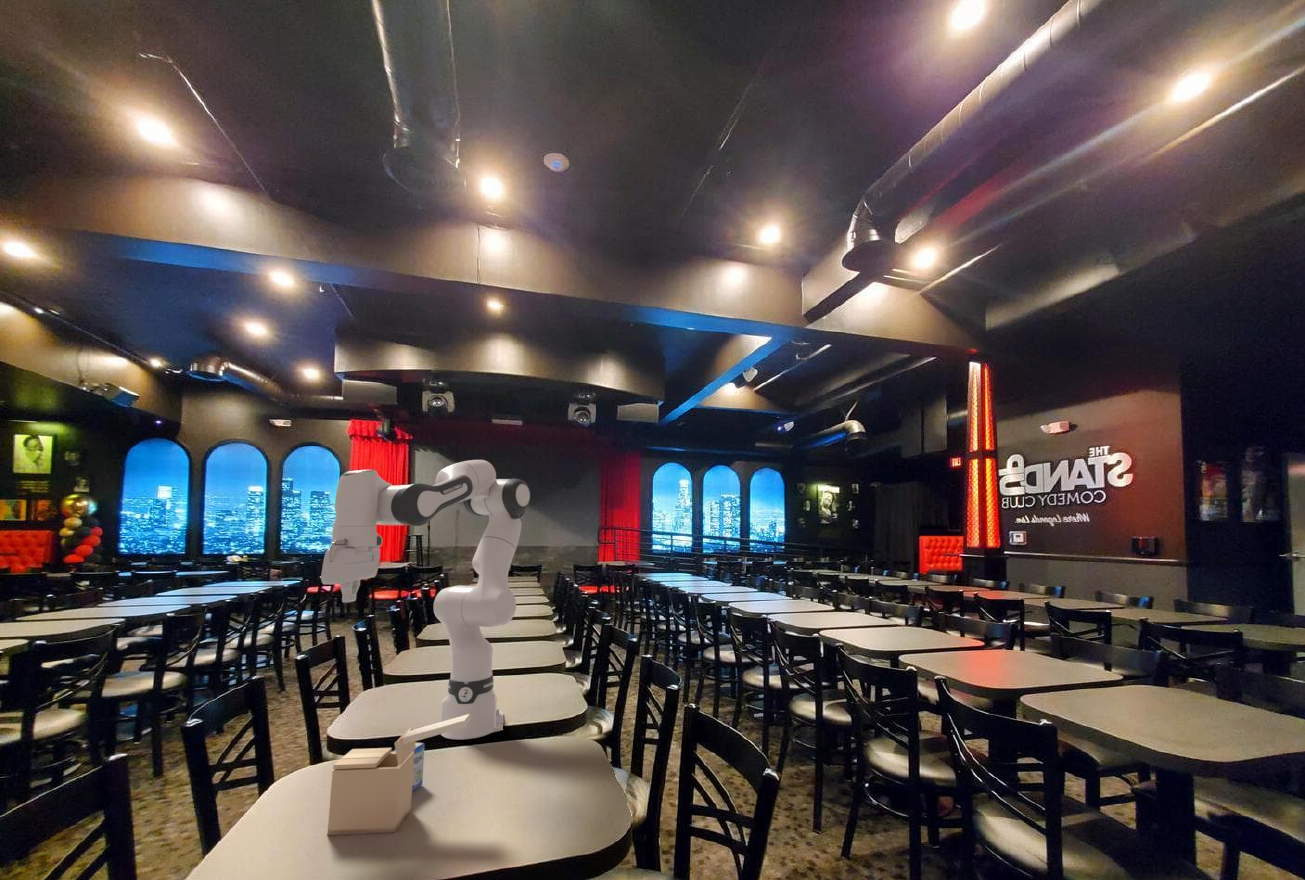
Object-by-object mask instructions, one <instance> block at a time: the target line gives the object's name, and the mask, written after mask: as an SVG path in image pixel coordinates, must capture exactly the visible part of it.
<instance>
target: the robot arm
mask: <svg viewBox="0 0 1305 880" xmlns="http://www.w3.org/2000/svg"><path fill="white" fill-rule="evenodd" d="M336 486H337V488H336V493H335V499H334V510H335V519H334V521H333V525H332V532H331V534H332V535H331V545H330V546H329V548H328V549H326V551H325V554H324V557H323V562H322V569H321V574H320V580H321V583H322V585H339V588H340V591H341V595H342V596H341V602H342V603H345V604H346V603H351V602H355V601H356V600H357V593H358V591H359V589H360V586H361V580H367V579H371V578H375V577H376V576H377V574H378V570H379V564H380V555H381V554H380V553H381V549H380V547H382V546H383V537H382V536H381V535H380V534H379V533H378V532H377V525H378V526H379V525H380V526H411V527H412V526H413V527H421V526H423V525H426V524H427V523H429V522H430V521H431V520H432V519H433V518H434V517H435V516H437V514H438V513H439V512H441V511H442V510H443V509H446V508H448V507H450V506H452V505H454V504H456V503H461V502H463V505H464V507H465V509H466V511H467V512H468V513H469V514H471V515H474V516H479V517H480V516H481V517H482V516H488V524H487V527H486V528H485V529H484V531H483V534H482V535H481V538H480V541H479V543H478V546H477V548H476V551H475V553H474V555H473V558H472V561H471V563H472V568H473V570H474V571H475V572H476V574H478V580H477V584H476V585H454V586H448V587H445V588H442V589H441V590H440V591H439V592H438V593H437V594H436V596H435V597H434V598H435V599H434V601H433V613H434V615H435V618H436V619H438V621H439V622H440V624H442V625H443V628H444V629H445V632H446V634H447V638H448V641H449V645H450V661H451V662H450V678H448V683H447V689H448V690H447V693H448V694H447V696H445V697H444V698H443V699H442V701H441V709H440V719H439V722H442V721H446V720H450V719H453V718H457V717H460V716H464V715H467V714H470V718H471V720H470V722H469V723H468V725H467V726H466V727H464V728H460V729H457V730H453V731H450V732H446V733H443V734H440V736H442V737H443V738H445V739H450V740H469V739H477V738H480V737H485V736H487V735H490V734H491V733H495V732H500V731H503V730H504V729H503V723H504V711H503V710H502V709H497V694H496V693H495V691H494V683H495V681H494V675H493V674H494V673H493V653H494V651H493V646H492V644H491V643H490V641H488V640H487V639H486V637H484V635H483V633H482V630H481V627H482V628H483V627H484V628H494V627H499V626H504V625H507V624H509V623H510V622H511V621H512V619H513V617H514V616H515V613H516V610H517V599H516V597H515V595H514V593H513V592H512V591H511V588H510V587H509V579H508V578H509V571H510V567H511V565H512V561H513V559H514V556H515V554H516V550H517V547H518V545H519V541H520V536H521V531H522V521H521V519H520V518H522V516H523V515H524V514H525V513H526V510H527V509H528V507H529V506H530V505H529V504H530V501H531V497H532V496H531V490H530V489H531V488H530V487H529V484H527V482H526V480H524V479H523V480H522V479H518V478H498V479H497V472H496V469H495V467H494V466H493V464H492V463H490V462H489V461H487V460H484V459H472V460H471V459H469V460H464V461H460V462H456V463H452V464H450V465H447V466H446V467H444V468H442V469H440V470H439V471H438V473H437V474H436V477H435V484H433V485H431V484H426V483H420V482H419V483H411V484H402V485H400V484H398V485H392V484H391V483H389V482H388V481H386V480H385V479H383V478H382V477H381V476H380V475H379V474H378V472H377V470H375V469H359V470H350V471H349V470H348V471H346V472H344V473H343V474H341V476H340V477H339V480H338V483H337V485H336ZM499 724H500V725H499Z"/></svg>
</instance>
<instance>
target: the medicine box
mask: <svg viewBox="0 0 1305 880" xmlns="http://www.w3.org/2000/svg"><path fill="white" fill-rule="evenodd" d="M415 746H416V749H415V750H414V751H413V752H414V765H413V782H412V793H413V792H415V791H416V790H418V789H419V788H420V787H421V786H423V782H424V781H423V779H424V762H425V761H424V760H425V759H424V757H425V743H424V742H417V741H415ZM391 752H396V749H394V750H392V751H391Z"/></svg>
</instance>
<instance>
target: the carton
mask: <svg viewBox="0 0 1305 880" xmlns="http://www.w3.org/2000/svg"><path fill="white" fill-rule="evenodd" d="M392 749H393V747H378V748H352V749H351V750H349V751H348V752H347V753H346V754H345V755H344V756H342V757H341V758H340V759H339V760H338V761H337V762H335V763H334V764H333V768H332V769H333V770H332V773H331V774H332V776H331V784H330V785H331V786H330V798H329V800H330V801H329V810H328V824H327V834H326V835H327V836H343V835H344V836H345V835H362V834H363V835H366V834H386V833H387V834H388V833H396V832H397V830H399V828H400V826H401V825H402V823H404V820H405V819H406V818H407V816H408V815H409V814H410V812H411V810H412V798H413V797H412V796H413V792H412V782H413V765H414V752H412V753H411V754H410V756H409V757H408V758H407V759H406V760H405V761H404V762H403V763H402V764H400V765H398V761H397V755H396V752H392V751H393V750H392Z"/></svg>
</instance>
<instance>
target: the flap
mask: <svg viewBox="0 0 1305 880" xmlns="http://www.w3.org/2000/svg"><path fill="white" fill-rule="evenodd" d="M470 720H471V718H470V714H467V715H464V716H460V717H457V718H453V719H450V720H446V721H442V722H440V721H439V722H436V723H433V724H429V725H425V726H422V727H418V728H415V729H413V727H410V728H407V730H405V732H404V733H403V734H402V735H401V736H400V737H399V738H398V739H397V740H396V741H395V742H394V750H396V755H397V761H398V765H400V764H402V763H403V762H404V761H405V760H406V759H407V758H408V757H409V756H410V754H411V753H412V752H413V751H414V750H415V749H416V746H415V742H417V741H418V742H419V741H421V740H424V739H428V738H432V737H435V736H438V735H441V734H443V733H446V732H450V731H453V730H457V729H460V728H464V727H466V726H467V725H468V723H469V722H470Z"/></svg>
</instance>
